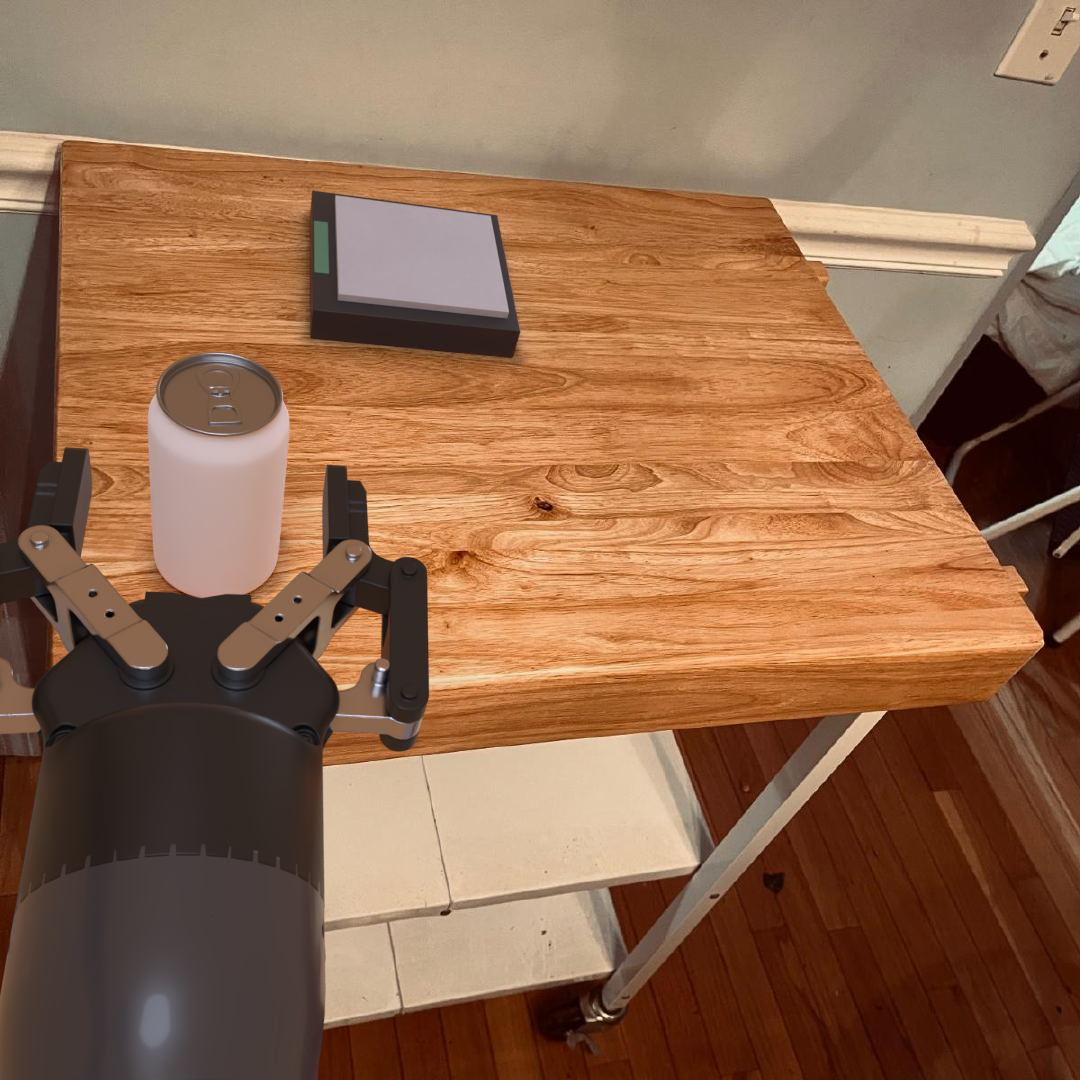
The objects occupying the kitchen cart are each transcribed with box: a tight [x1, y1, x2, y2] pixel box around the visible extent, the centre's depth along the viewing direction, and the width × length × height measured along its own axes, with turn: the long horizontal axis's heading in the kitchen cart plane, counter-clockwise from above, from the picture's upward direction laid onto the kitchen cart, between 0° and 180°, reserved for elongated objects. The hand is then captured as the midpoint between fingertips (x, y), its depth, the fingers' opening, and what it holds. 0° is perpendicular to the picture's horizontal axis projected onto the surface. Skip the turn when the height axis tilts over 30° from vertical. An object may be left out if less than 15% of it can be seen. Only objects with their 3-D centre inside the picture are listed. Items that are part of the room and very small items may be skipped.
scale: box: [309, 190, 521, 358], centre depth 77 cm, size 14×14×3 cm
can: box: [147, 351, 291, 598], centre depth 53 cm, size 6×6×12 cm
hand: (210, 472), depth 37 cm, fingers open, 8 cm apart
